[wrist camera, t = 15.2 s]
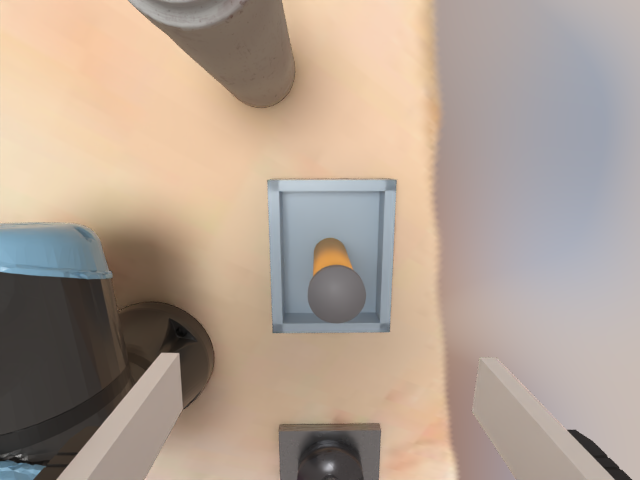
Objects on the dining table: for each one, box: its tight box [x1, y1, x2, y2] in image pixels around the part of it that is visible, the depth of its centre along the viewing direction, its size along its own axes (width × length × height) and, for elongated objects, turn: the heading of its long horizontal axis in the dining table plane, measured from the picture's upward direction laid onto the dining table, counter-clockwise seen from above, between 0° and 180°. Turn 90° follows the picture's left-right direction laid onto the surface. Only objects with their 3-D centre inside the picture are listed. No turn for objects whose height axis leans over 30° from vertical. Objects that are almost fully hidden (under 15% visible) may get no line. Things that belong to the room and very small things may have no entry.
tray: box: [268, 179, 396, 333], centre depth 40 cm, size 14×18×4 cm
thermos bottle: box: [128, 0, 295, 108], centre depth 24 cm, size 8×8×28 cm
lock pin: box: [308, 238, 366, 323], centre depth 34 cm, size 5×5×14 cm
